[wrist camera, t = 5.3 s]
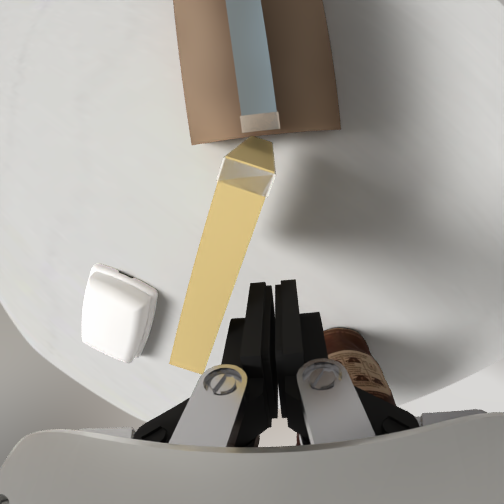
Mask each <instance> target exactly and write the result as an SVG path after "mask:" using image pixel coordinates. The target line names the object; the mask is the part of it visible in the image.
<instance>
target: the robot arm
mask: <svg viewBox="0 0 504 504" xmlns="http://www.w3.org/2000/svg"><path fill="white" fill-rule="evenodd" d="M278 387H279V396H280V405H281V414H282V418H287V420H288V427H289V428H291V429H292V430H294V431H295V432H297V433H298V434H299V439H300V443H301V445H299V446H283V447H258V444H259V439H260V438H259V437H260V436H259V434H261V433H262V432H263V431H265V430H266V429H267V428H269V427H271V422H272V418H277V417H278ZM0 504H504V412H503V413H502V412H492V413H487V412H485V411H483V410H477V409H473V410H464V411H452V412H437V413H423V414H422V416H421V417H414V416H413V415H412V414H410V413H409V412H407V411H405V410H403V409H401V408H399V407H397V406H395V405H393V404H391V403H388V402H386V401H384V400H382V399H380V398H378V397H376V396H374V395H372V394H370V393H368V392H366V391H364V390H362V389H360V388H358V387H356V386H354V385H353V383H352V381H351V379H350V377H349V374H348V372H347V370H346V369H345V367H344V366H343V365H342V364H341V363H339V362H338V361H335V360H332V359H328V353H327V348H326V342H325V337H324V332H323V327H322V322H321V317H320V313H319V312H314V313H303V314H299V306H298V297H297V288H296V280H283V281H281V285H275V313H274V303H273V294H272V286H271V285H270V286H266V283H265V282H259V283H250V289H249V296H248V303H247V310H246V317H245V318H235V319H231V321H230V325H229V330H228V334H227V339H226V344H225V349H224V354H223V359H222V364H221V365H218V366H214V367H212V368H210V369H208V370H207V371H205V372H204V373H203V374H202V375H201V377H200V378H199V380H198V382H197V384H196V387H195V389H194V391H193V393H192V395H191V397H190V398H188V399H187V400H185V401H183V402H182V403H180V404H178V405H177V406H175V407H173V408H172V409H170V410H168V411H166V412H165V413H163V414H161V415H159V416H158V417H156V418H154V419H152V420H150V421H149V422H147V423H145V424H144V425H142V426H141V427H139V429H138V430H134V429H133V427H121V428H84V429H78V430H69V429H52V430H43V431H37V432H34V433H31V434H28V435H27V436H25V437H23V438H22V439H21V440H20V441H19V442H18V443H17V444H16V445H15V447H14V448H13V449H12V451H11V452H10V454H9V455H8V457H7V458H6V460H5V461H4V463H3V465H2V466H1V468H0Z"/></svg>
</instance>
